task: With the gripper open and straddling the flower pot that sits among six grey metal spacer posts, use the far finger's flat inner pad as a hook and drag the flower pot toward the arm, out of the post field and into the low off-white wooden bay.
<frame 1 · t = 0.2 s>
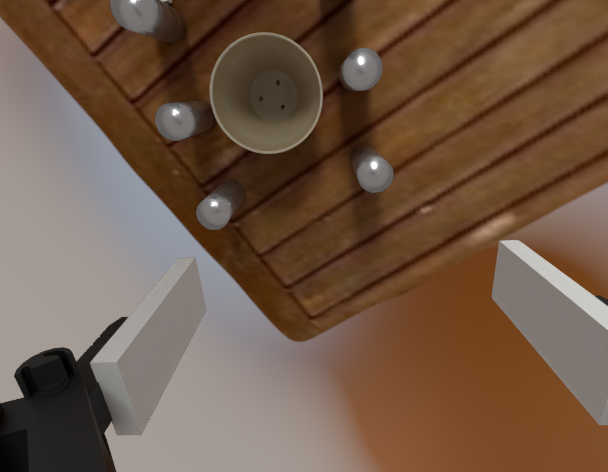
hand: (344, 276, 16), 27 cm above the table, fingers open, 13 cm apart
spacers: (275, 95, 38), on the table
flower pot: (275, 95, 38), on the table
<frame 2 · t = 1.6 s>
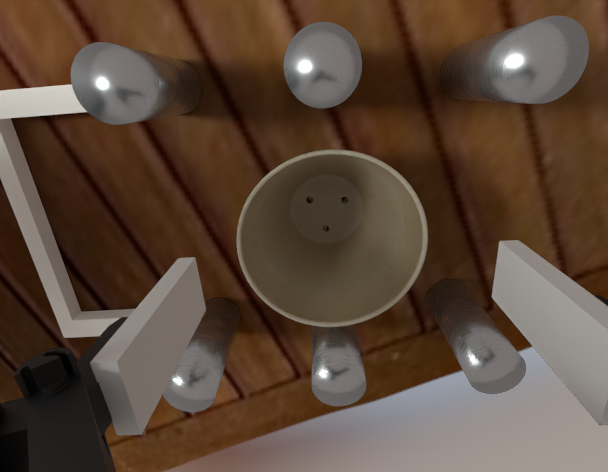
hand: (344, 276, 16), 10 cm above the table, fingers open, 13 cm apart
spacers: (326, 206, 25), on the table
bay: (113, 221, 26), on the table
flower pot: (326, 205, 25), on the table
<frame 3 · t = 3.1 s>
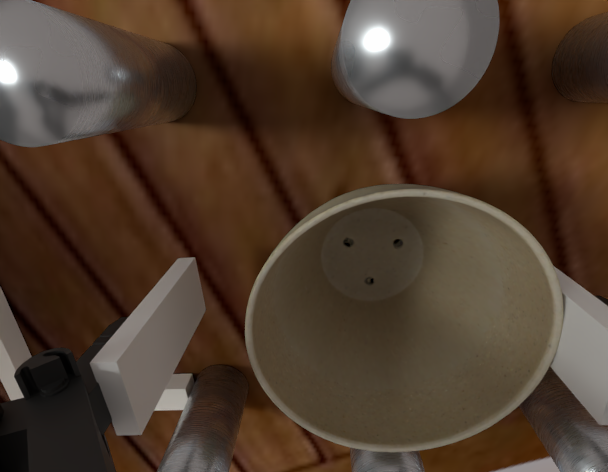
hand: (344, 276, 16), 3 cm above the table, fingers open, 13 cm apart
spacers: (370, 251, 18), on the table
bay: (77, 266, 19), on the table
flower pot: (370, 249, 18), on the table, touching gripper
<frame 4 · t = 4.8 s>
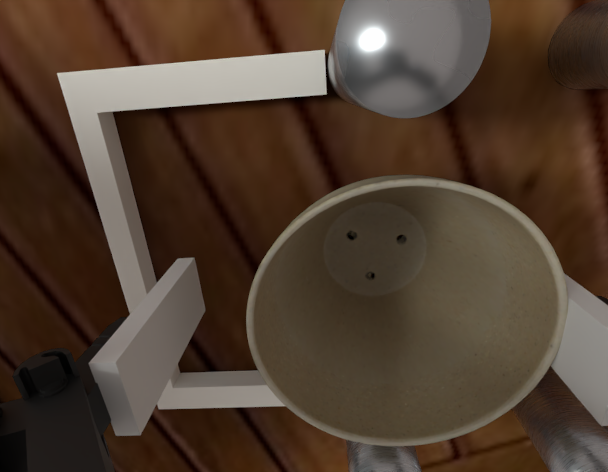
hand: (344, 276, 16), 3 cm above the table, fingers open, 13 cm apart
spacers: (551, 240, 18), on the table
bay: (241, 256, 18), on the table
flower pot: (372, 243, 18), on the table, touching gripper
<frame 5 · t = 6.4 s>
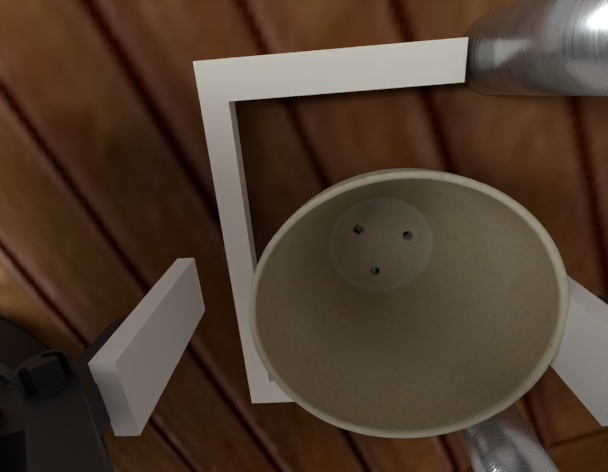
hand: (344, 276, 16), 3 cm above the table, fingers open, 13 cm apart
bay: (347, 248, 18), on the table
flower pot: (378, 239, 18), on the table, touching gripper
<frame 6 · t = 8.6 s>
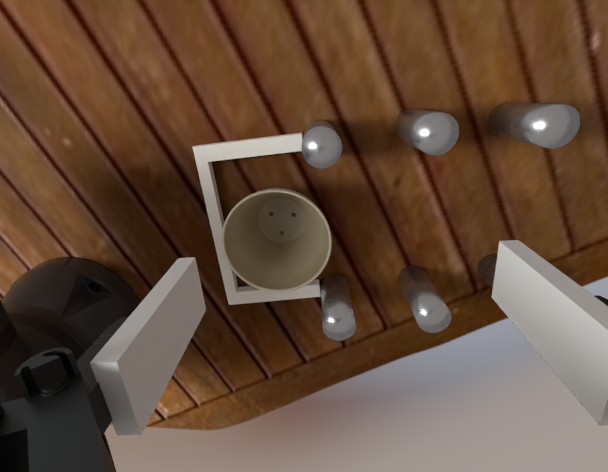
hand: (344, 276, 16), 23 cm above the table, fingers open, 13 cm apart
spacers: (411, 208, 38), on the table
bay: (268, 223, 39), on the table
flower pot: (282, 217, 39), on the table
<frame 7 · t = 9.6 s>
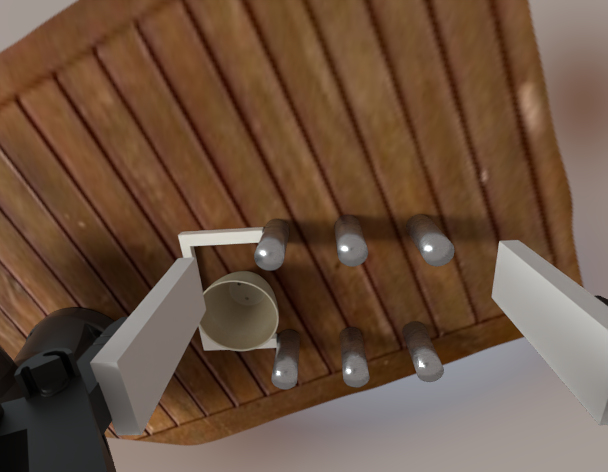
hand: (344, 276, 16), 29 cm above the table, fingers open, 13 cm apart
spacers: (349, 285, 48), on the table
bay: (237, 290, 49), on the table
flower pot: (248, 286, 49), on the table
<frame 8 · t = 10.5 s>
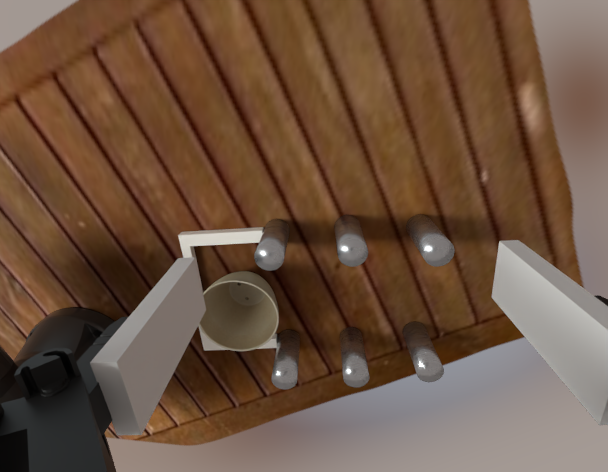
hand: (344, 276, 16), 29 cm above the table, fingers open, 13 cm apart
spacers: (349, 285, 48), on the table
bay: (237, 290, 49), on the table
flower pot: (248, 286, 49), on the table
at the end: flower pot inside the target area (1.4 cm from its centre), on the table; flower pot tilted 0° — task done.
